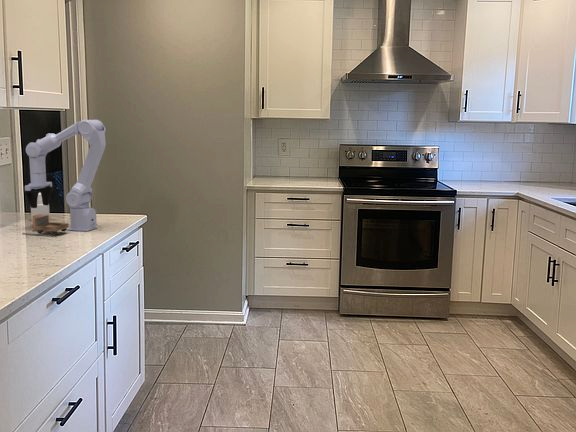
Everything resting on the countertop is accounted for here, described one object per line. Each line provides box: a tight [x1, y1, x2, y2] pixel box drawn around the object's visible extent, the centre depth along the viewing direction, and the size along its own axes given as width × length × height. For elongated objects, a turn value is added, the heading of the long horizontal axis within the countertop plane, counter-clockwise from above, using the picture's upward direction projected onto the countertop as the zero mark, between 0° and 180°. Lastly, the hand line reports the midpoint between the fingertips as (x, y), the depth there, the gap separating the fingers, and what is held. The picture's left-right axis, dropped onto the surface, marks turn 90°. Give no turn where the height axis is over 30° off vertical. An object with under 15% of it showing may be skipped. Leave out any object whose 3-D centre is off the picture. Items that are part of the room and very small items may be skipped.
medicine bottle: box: [29, 191, 51, 222], centre depth 248 cm, size 7×7×12 cm
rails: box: [21, 229, 64, 237], centre depth 220 cm, size 13×7×1 cm, turn 78°
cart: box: [34, 215, 70, 236], centre depth 219 cm, size 9×8×6 cm
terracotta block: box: [32, 214, 50, 229], centre depth 232 cm, size 4×4×5 cm
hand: (40, 206), depth 231 cm, fingers open, 7 cm apart
